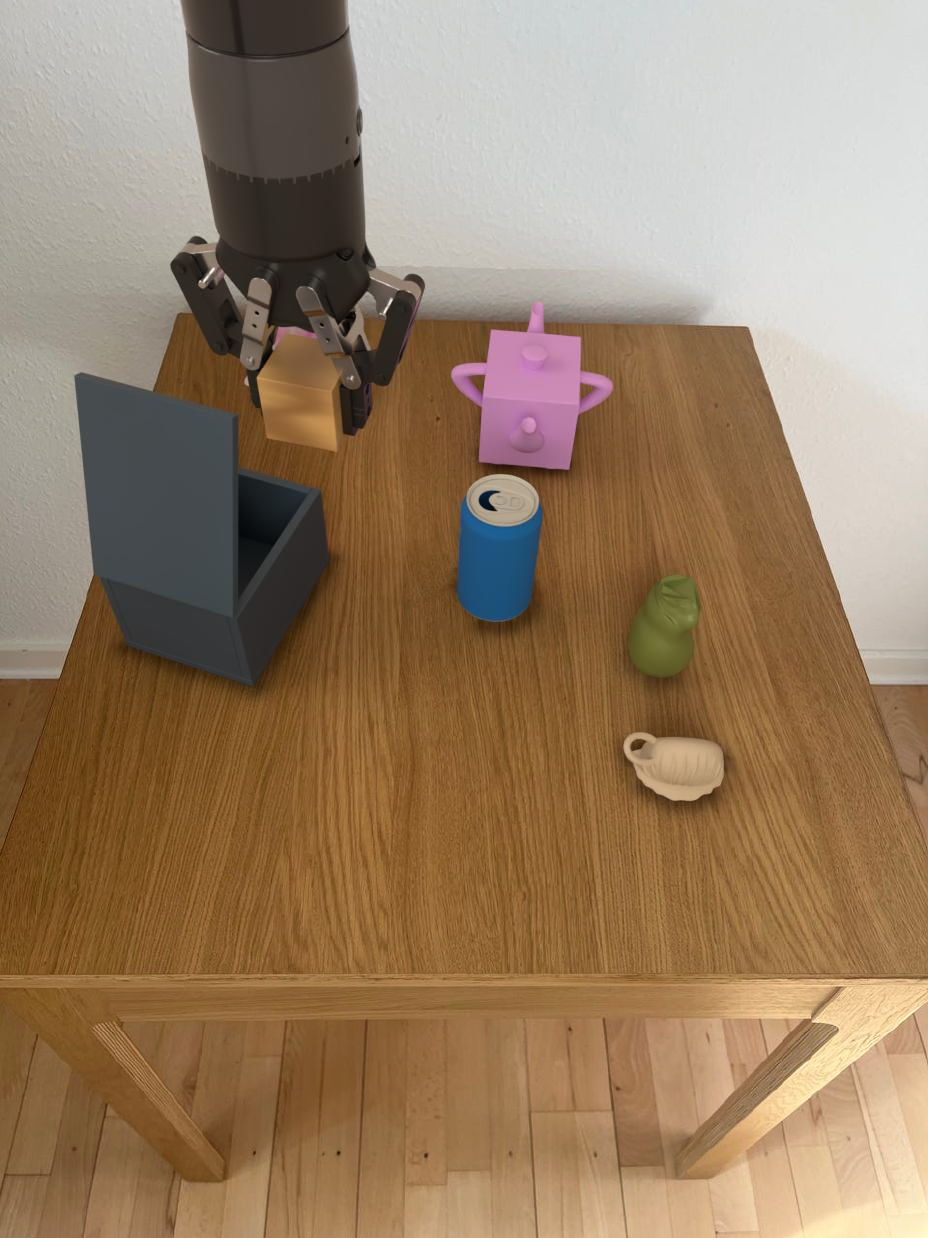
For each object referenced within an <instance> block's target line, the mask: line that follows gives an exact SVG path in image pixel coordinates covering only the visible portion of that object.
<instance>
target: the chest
mask: <svg viewBox="0 0 928 1238" xmlns="http://www.w3.org/2000/svg"><path fill="white" fill-rule="evenodd" d="M329 555H330V554H329V545H328V537H327V529H326V520H325V511H324V503H323V493H322V490H321V489H320V488H316V487H312V486H309V485H306V484H305V485H304V484H302V483H298V482H295V481H291V480H287V479H283V478H280V477H277V476H273V475H270V474H266V473H262V472H259V471H256V470H251V469H248V468H246V467H245V468H244V467H240V466H238V613H237V614H236V615H235V616H234V617H229V616H226V615H223V614H220V613H217V612H213V611H210V610H207V609H204V608H201V607H197V606H194V605H191V604H188V603H185V602H181V601H178V600H175V599H172V598H169V597H166V596H162V595H159V594H156V593H153V592H150V591H146V590H143V589H140V588H137V587H134V586H130V585H127V584H124V583H121V582H118V581H114V580H111V579H108V578H105V577H102V576H98V578H99V580H100V582H101V585H102V587H103V590H104V592H105V595H106V597H107V599H108V602H109V605H110V607H111V609H112V612H113V614H114V616H115V619H116V622H117V624H118V626H119V629H120V632H121V633H122V634H121V635H122V636H123V639H124V641H125V644H126V646H127V647H130V648H132V649H136V650H139V651H142V652H145V653H148V654H151V655H154V656H157V657H160V658H163V659H167V660H169V661H172V662H175V663H179V664H182V665H185V666H188V667H190V668H194V669H198V670H201V671H203V672H206V673H208V674H209V673H210V674H212V675H215V676H219V677H221V678H225V679H228V680H230V681H233V682H237V683H241V684H244V685H246V686H249V687H252V688H254V686H255V685H256V684H257V682H258V681H259V678H260V677H261V675H263V674H262V673H263V672H264V670H265V669H266V667H267V666H268V664H269V663H270V660H271V659H272V657H273V655H274V654H275V652H276V651H277V649H278V647H279V646H280V644H281V642H282V641H283V639H284V637H285V635H286V634H287V632H288V631H289V629H290V627H291V625H292V624H293V623H294V621H295V619H296V617H297V616H298V615H299V613H300V611H301V609H302V607H303V606H304V604H305V602H306V601H307V599H308V597H309V596H310V594H311V593H312V591H313V589H314V587H316V585H317V583H318V581H319V579H320V578H321V576H322V574H323V573H324V571H325V570H326V568H327V566H328V565H329V563H330V556H329Z"/></svg>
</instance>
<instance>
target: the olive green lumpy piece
mask: <svg viewBox="0 0 928 1238" xmlns="http://www.w3.org/2000/svg"><path fill="white" fill-rule="evenodd" d="M701 611H702V606H701V600H700V596H699V591H698V587H697V582H696V579H695V577H694V576H690V577H688V576H687V577H686V576H684V575H680V574H667V575H666V576H664V577H662V579H661V580H660V581H657V582H656V583H654V585H653V586H652V587H651V588H650V590H649V591H648V592H647V595H646V597H645V600H644V603H643V604H642V605H641V606H640V607H639V608H638V609H637V611H636V613H635V615H634V616H633V619H632V622H631V625H630V627H629V631H628V635H627V636H628V637H627V653H628V656H629V659H630V660H631V662H632V664H633V665H634V667H635V668H636V669H637V670H638V671H640V673H642V674H644V675H646V676H649V677H652V678H656V679H657V678H658V679H663V678H670V677H673V676H676V675H678V674H680V673H682V671H684V670H685V669H686V668H687V667H688V666H689V664H690V663H691V661H692V658H693V656H694V651H695V640H694V636H693V633H692V631H693V630H694V629H696V627H697V625H698V622H699V620H700V615H701Z"/></svg>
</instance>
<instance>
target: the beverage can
mask: <svg viewBox="0 0 928 1238" xmlns="http://www.w3.org/2000/svg"><path fill="white" fill-rule="evenodd" d="M543 515H544V511H543V506H542V503H541V502H540V498H539V494H538V492H537V490H536V489H535V488H534V486H533V485H532V484H531V483H530V482H528V481H526V480H525V479H523V478H521V477H518V476H515V475H512V474H503V473H497V474H490V475H486V476H483V477H481V478H479V479H478V480H476V481H474V482H473V483H472V485H470V487H469V488H468V490H467V493H466V494H465V496H464V497H463V500H462V502H461V505H460V516H459V517H460V518H459V534H458V535H459V536H458V557H457V558H458V559H457V560H458V561H457V582H456V583H457V585H456V594H457V599H458V601H459V604H460V605H461V607H462V608H463V609H464V610H465V611H466V612H467V613H468V614H470V615H471V616H472V617H475V618H477V619H479V620H483V621H486V622H487V621H488V622H505V621H509V620H513V619H514V618H517V617H519V616H521V614H523V613H524V612H525V611H526V610H527V608H528V607H529V606H530V604H531V600H532V595H533V589H534V583H535V582H534V581H535V574H536V568H537V567H536V566H537V559H538V553H539V546H540V539H541V532H542V531H541V530H542V524H543V518H544V517H543Z"/></svg>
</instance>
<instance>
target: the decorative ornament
mask: <svg viewBox="0 0 928 1238" xmlns="http://www.w3.org/2000/svg"><path fill="white" fill-rule="evenodd" d="M635 740H643V741H646V742H645V743H644V744H642V747H641V748H639V749H634V750H632V749H631V745H632V743H633V742H634V741H635ZM622 747H623V752H624V755H625V756H626V758H627V759H628V761H630V762H631V763H632V764H633V765H632V766H633V768H634V770H635V773H636V777H637V778H638V779H639V780H640V781H641V782H642V783H643V785H644V786H645V787H646V788H649V789H651V790H652V791H653V792H654V793H655V794H657V795H659V796H663V797H665V798H666V799H668V800H670V801H673V802H674V801H675V802H677V801H687V802H692V801H696V800H698V799H699V798H701V797H702V796H704V795H710V794H711V793H712V792H713V790H714V789H715V788H718V787H720V786H721V784H722V781H723V779H724V776H725V769H724V767H725V763H724V762H725V760H724V752H723V749H722V747H721V746H720V745H719V744H718V743H716V742H715V741H712V740H709V739H708V740H707V739H703V738H695V737H694V738H693V737H683V736H682V737H681V736H665V737H655V736H654V735H653V734H651V733H648V732H643V731H637V732H632V733H630V734H628V735H627V736H626V738H625V740H624V741H623V746H622Z"/></svg>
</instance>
